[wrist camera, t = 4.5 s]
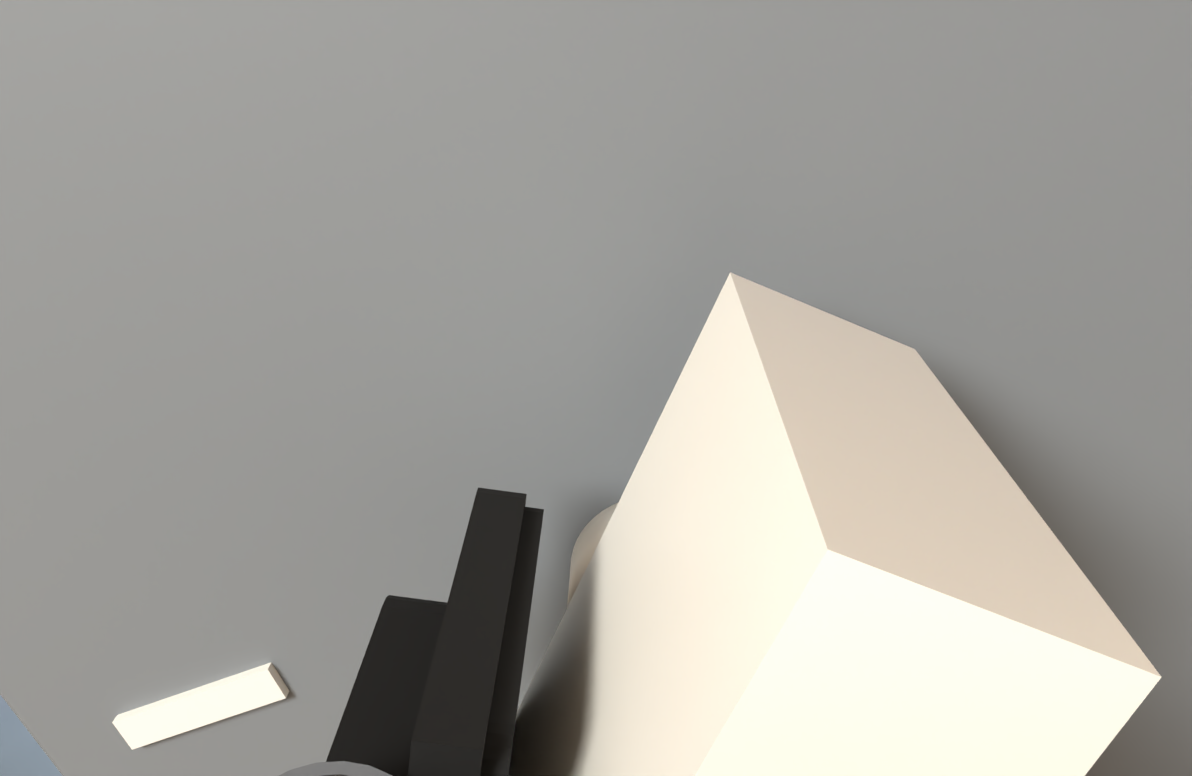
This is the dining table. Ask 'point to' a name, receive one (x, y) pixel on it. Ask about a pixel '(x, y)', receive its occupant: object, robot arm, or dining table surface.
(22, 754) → the dining table surface
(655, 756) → the white ice pop
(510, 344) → the slate dial board
